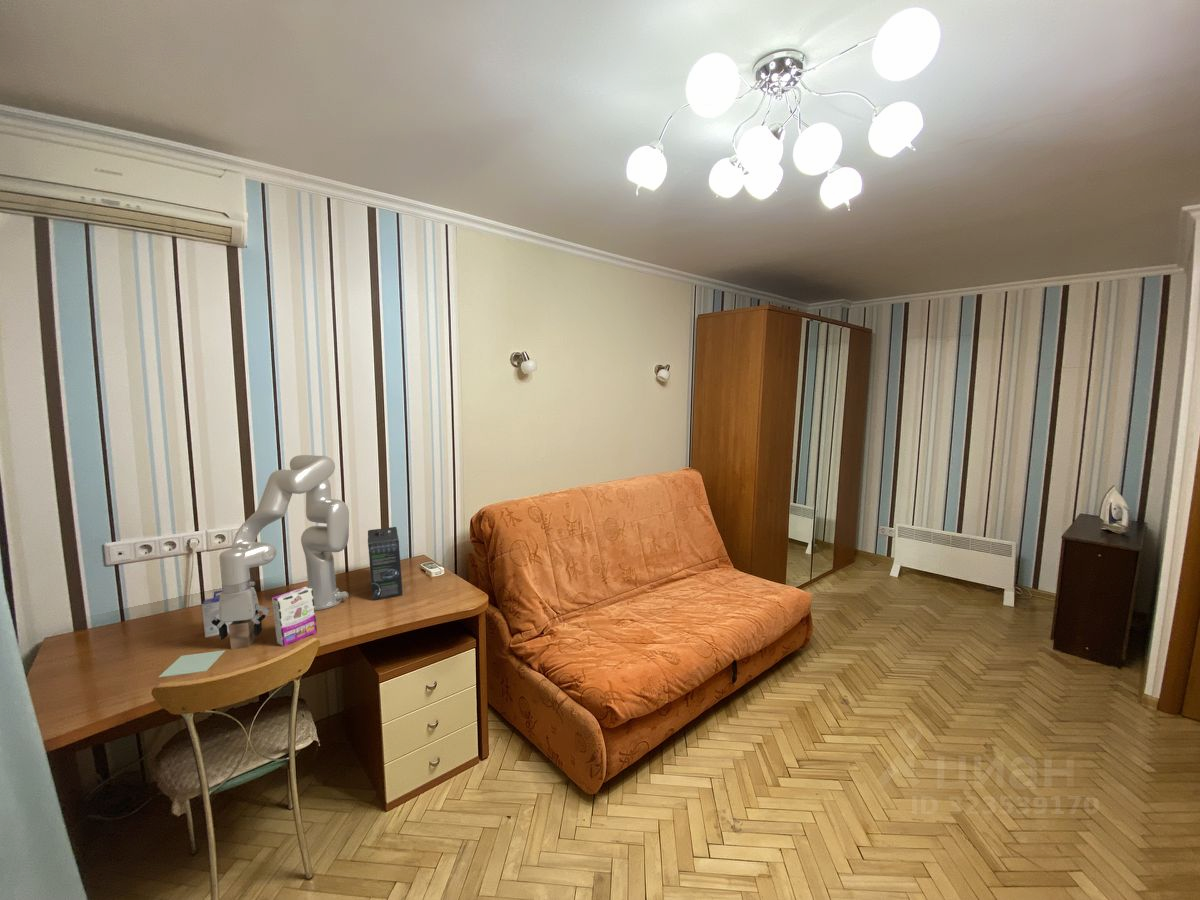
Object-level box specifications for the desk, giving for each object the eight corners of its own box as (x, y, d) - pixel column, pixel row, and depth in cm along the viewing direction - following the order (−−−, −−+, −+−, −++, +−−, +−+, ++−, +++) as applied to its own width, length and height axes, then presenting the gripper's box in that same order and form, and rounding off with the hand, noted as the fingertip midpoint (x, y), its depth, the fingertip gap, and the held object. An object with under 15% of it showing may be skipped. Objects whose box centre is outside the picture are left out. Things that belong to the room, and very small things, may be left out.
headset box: (371, 581, 216) (367, 525, 212) (400, 577, 221) (397, 521, 217) (371, 601, 195) (366, 539, 192) (403, 595, 200) (399, 535, 197)
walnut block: (254, 639, 165) (252, 617, 164) (248, 646, 161) (246, 624, 160) (238, 641, 164) (235, 619, 163) (231, 649, 159) (228, 626, 158)
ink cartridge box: (242, 624, 177) (238, 586, 175) (240, 630, 172) (235, 591, 170) (207, 631, 172) (203, 592, 170) (204, 638, 167) (199, 598, 166)
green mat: (225, 651, 159) (225, 650, 159) (206, 671, 147) (205, 670, 147) (181, 656, 156) (181, 655, 155) (158, 678, 144) (158, 677, 144)
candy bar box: (310, 629, 173) (306, 585, 171) (317, 633, 170) (313, 588, 168) (275, 643, 163) (271, 597, 161) (283, 647, 161) (278, 600, 158)
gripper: (271, 579, 166) (275, 627, 168) (211, 585, 161) (216, 634, 163) (261, 588, 158) (266, 637, 160) (199, 593, 154) (204, 645, 156)
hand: (241, 635), depth 162 cm, fingers open, 9 cm apart
